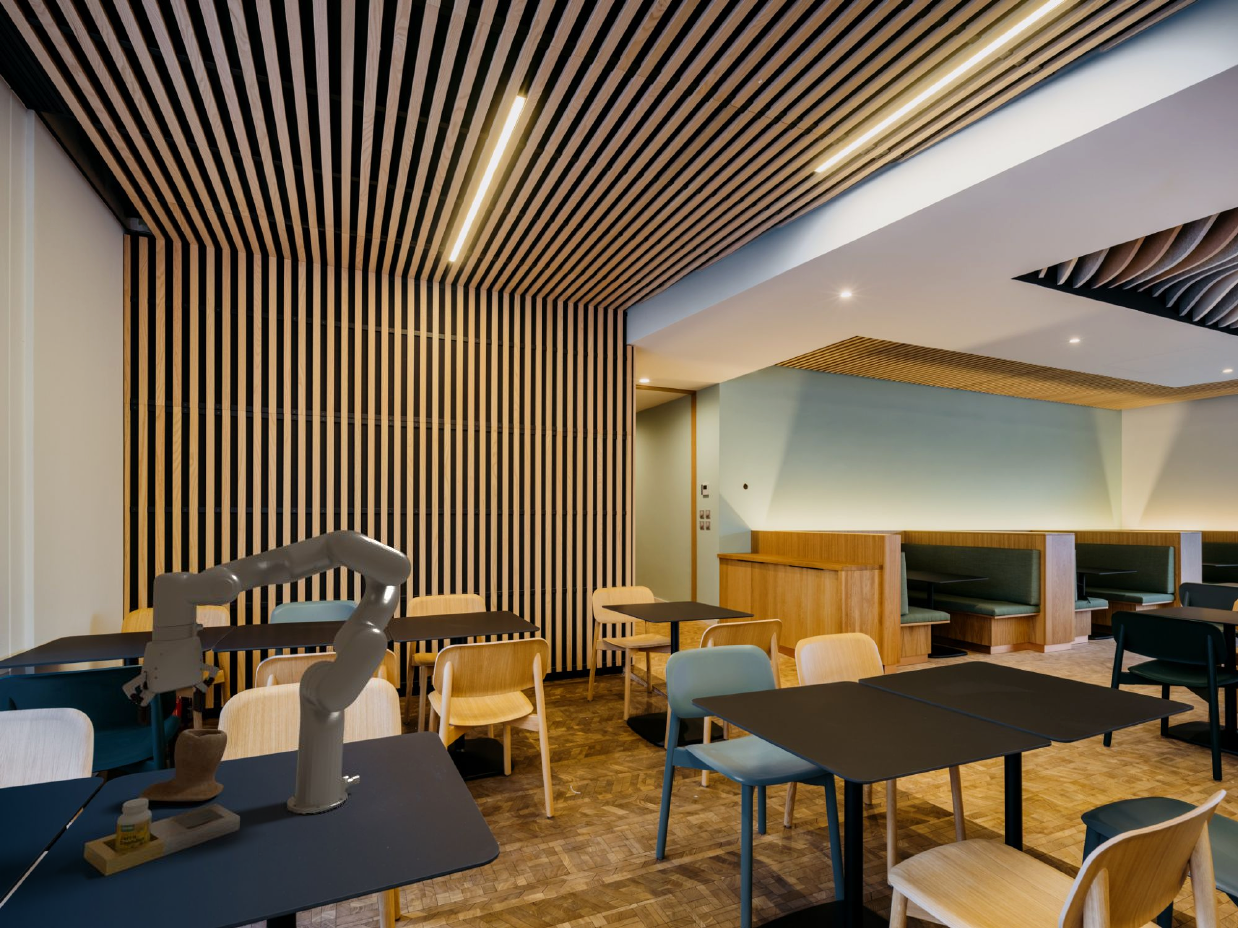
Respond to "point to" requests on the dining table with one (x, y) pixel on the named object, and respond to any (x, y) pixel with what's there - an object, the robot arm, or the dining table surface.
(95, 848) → the holder
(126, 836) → the supplement bottle
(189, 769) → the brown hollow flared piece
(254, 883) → the dining table surface
